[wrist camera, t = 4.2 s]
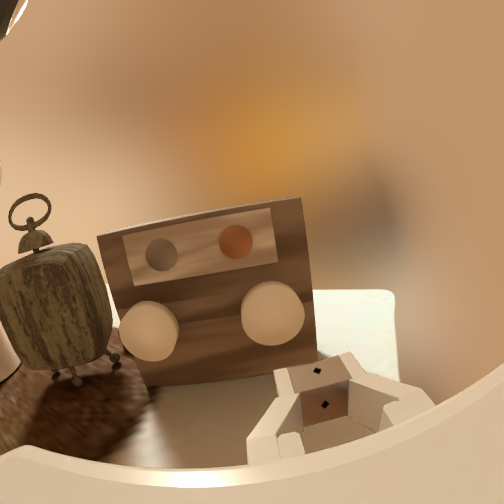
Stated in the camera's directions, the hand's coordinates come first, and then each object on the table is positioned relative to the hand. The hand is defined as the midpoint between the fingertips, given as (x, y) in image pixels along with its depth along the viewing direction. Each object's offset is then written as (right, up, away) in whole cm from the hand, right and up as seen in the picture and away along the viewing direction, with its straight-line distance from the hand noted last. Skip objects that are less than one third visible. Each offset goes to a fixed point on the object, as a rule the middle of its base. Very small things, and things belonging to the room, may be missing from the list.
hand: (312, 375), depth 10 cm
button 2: (0, -3, +17) cm, 17 cm away
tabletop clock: (-26, -13, +20) cm, 35 cm away
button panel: (-5, -9, +21) cm, 23 cm away
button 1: (-11, -4, +16) cm, 20 cm away
